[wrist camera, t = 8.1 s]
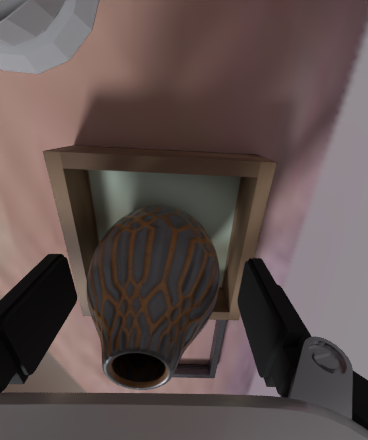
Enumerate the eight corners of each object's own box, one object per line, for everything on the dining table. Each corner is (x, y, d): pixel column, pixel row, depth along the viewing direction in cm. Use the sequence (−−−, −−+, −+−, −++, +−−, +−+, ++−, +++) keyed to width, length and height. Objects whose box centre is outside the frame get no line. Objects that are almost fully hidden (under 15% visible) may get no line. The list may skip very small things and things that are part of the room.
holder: (230, 290, 18) (238, 320, 15) (98, 286, 17) (83, 315, 15) (256, 154, 13) (276, 162, 10) (73, 145, 12) (42, 151, 10)
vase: (161, 169, 12) (120, 247, 4) (230, 238, 15) (285, 374, 7) (96, 236, 14) (-11, 370, 7) (165, 288, 17) (147, 436, 9)
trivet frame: (213, 368, 23) (214, 378, 22) (122, 366, 23) (119, 376, 22) (225, 302, 18) (228, 311, 17) (112, 299, 18) (108, 308, 17)
